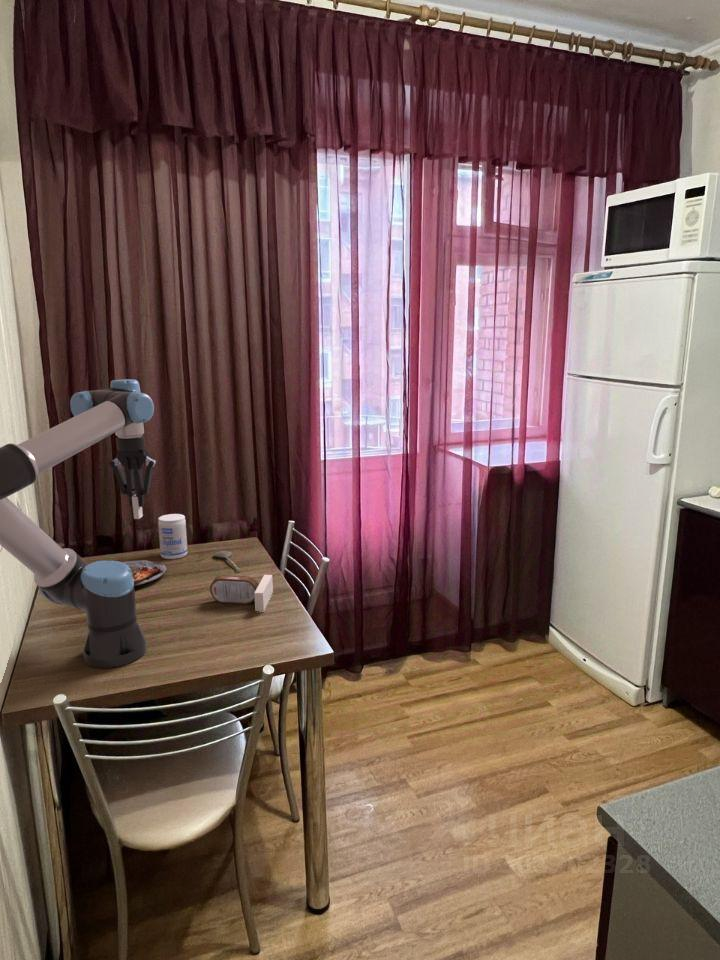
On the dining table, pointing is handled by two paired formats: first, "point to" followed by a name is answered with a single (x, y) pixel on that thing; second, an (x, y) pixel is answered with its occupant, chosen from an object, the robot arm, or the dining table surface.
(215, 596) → the tin
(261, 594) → the board
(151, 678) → the dining table surface
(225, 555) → the soupspoon
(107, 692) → the dining table surface
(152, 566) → the food plate
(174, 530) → the supplement tub
